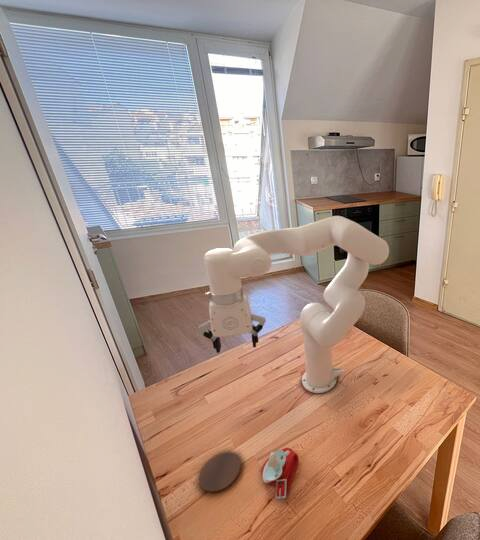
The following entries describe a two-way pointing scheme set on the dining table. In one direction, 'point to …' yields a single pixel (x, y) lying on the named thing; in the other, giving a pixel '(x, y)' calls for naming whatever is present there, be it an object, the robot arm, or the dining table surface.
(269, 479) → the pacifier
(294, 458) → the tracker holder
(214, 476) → the dark brown coaster
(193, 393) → the dining table surface
